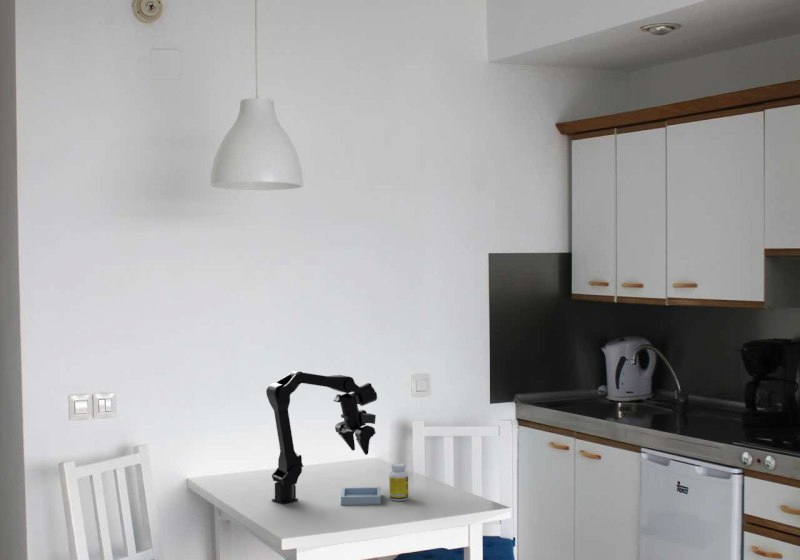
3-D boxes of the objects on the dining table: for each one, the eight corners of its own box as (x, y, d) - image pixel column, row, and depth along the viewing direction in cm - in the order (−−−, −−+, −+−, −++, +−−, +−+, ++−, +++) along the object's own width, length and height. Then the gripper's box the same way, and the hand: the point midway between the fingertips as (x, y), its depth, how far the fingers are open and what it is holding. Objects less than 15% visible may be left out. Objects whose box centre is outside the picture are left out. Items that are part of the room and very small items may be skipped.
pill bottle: (406, 502, 305) (406, 467, 304) (387, 501, 306) (387, 466, 306) (410, 497, 311) (409, 463, 311) (391, 496, 312) (391, 462, 312)
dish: (380, 504, 302) (380, 496, 302) (341, 504, 301) (340, 497, 301) (380, 494, 315) (379, 487, 315) (342, 495, 314) (342, 487, 314)
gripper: (383, 406, 317) (392, 448, 319) (356, 399, 333) (365, 440, 335) (356, 416, 311) (366, 459, 313) (330, 409, 327) (339, 451, 329)
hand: (360, 452), depth 323 cm, fingers open, 9 cm apart
